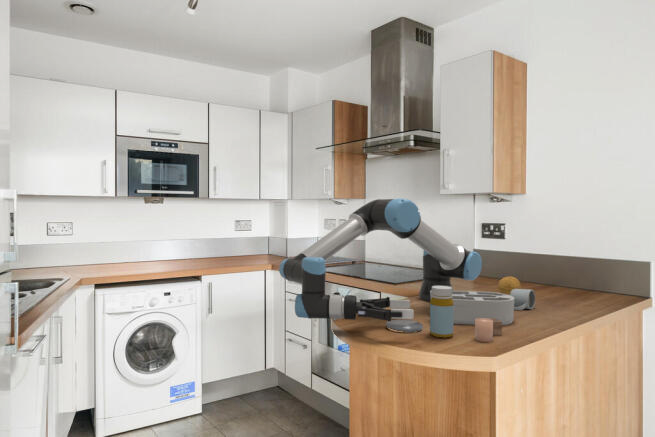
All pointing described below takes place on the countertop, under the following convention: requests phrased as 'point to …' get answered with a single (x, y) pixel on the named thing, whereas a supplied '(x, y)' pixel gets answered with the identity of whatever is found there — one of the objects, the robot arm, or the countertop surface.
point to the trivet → (404, 325)
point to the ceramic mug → (523, 298)
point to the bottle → (441, 311)
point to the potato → (508, 285)
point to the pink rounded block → (484, 329)
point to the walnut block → (496, 326)
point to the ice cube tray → (481, 306)
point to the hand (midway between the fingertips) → (411, 309)
